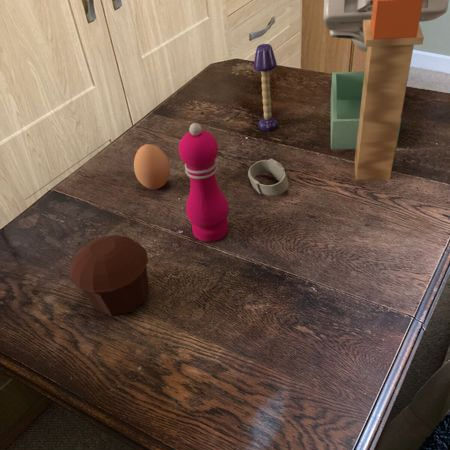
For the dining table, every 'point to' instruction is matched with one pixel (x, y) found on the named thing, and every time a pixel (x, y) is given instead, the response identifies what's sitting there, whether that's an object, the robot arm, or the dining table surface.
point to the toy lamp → (265, 83)
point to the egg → (151, 166)
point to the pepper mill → (203, 185)
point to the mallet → (395, 18)
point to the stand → (382, 102)
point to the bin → (346, 108)
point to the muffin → (112, 273)
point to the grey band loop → (274, 169)
